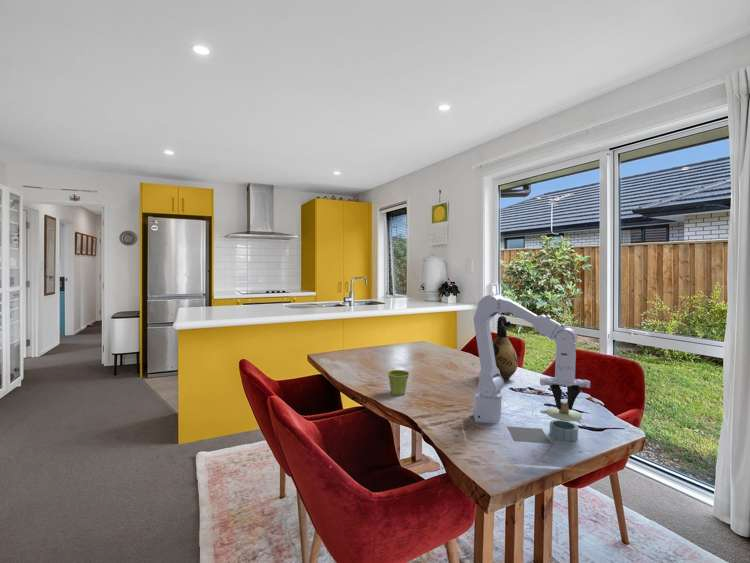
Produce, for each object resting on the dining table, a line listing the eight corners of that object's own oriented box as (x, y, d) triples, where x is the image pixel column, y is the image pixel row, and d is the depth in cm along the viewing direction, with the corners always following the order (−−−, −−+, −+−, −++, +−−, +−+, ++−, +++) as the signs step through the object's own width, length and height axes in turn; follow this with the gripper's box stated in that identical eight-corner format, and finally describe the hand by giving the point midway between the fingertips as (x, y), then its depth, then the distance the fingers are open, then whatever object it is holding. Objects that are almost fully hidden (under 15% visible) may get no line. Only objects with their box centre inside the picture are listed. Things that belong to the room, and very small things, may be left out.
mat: (514, 442, 124) (514, 440, 124) (507, 428, 135) (507, 426, 135) (551, 445, 123) (551, 443, 123) (541, 430, 134) (541, 428, 133)
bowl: (554, 441, 125) (554, 429, 125) (546, 431, 133) (546, 419, 133) (581, 443, 124) (582, 430, 124) (572, 432, 132) (572, 420, 132)
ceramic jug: (521, 383, 186) (523, 319, 185) (488, 383, 186) (489, 318, 185) (510, 373, 203) (512, 314, 202) (479, 373, 203) (481, 313, 202)
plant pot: (407, 397, 164) (408, 376, 164) (385, 395, 166) (385, 375, 166) (410, 390, 174) (410, 370, 173) (388, 389, 175) (389, 369, 175)
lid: (552, 420, 124) (552, 407, 123) (542, 408, 133) (543, 397, 133) (586, 422, 122) (587, 409, 122) (574, 410, 132) (574, 398, 132)
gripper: (544, 368, 124) (543, 411, 125) (594, 370, 122) (593, 414, 123) (538, 362, 131) (537, 404, 132) (585, 364, 129) (584, 406, 130)
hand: (563, 408), depth 128 cm, fingers closed on lid, 3 cm apart
